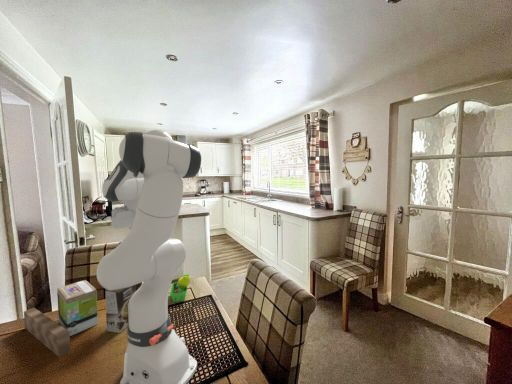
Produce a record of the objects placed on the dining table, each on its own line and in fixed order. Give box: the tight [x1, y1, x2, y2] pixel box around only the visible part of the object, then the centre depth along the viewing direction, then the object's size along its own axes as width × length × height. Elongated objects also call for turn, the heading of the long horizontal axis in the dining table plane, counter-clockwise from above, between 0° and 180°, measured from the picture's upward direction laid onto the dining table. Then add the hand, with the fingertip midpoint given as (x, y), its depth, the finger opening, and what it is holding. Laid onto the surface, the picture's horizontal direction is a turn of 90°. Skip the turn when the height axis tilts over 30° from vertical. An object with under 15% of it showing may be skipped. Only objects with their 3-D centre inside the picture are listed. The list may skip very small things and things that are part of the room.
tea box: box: [56, 279, 99, 337], centre depth 89 cm, size 15×10×15 cm, turn 52°
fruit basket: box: [169, 273, 191, 303], centre depth 108 cm, size 11×9×11 cm
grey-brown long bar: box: [23, 307, 71, 358], centre depth 80 cm, size 30×3×7 cm, turn 62°
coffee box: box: [104, 284, 137, 334], centre depth 88 cm, size 9×6×16 cm
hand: (136, 234), depth 102 cm, fingers closed
